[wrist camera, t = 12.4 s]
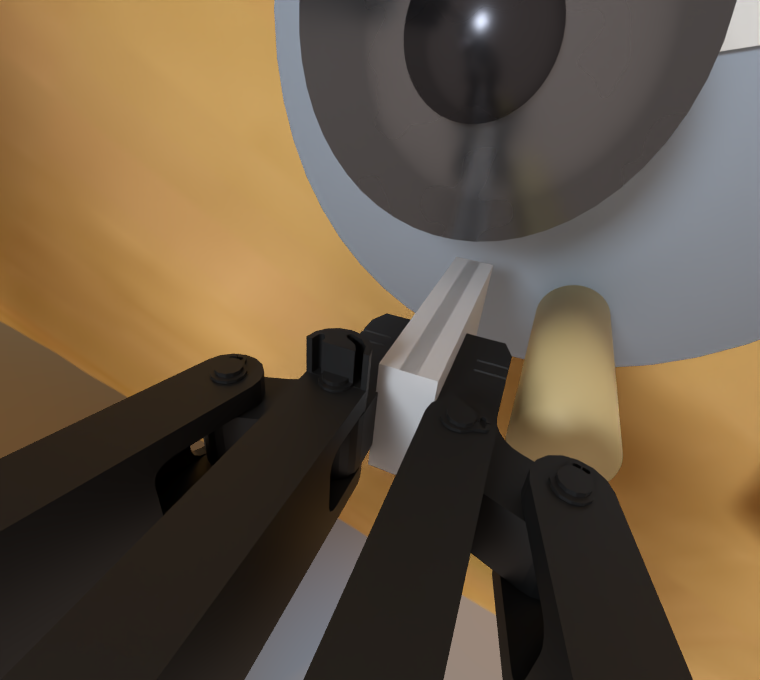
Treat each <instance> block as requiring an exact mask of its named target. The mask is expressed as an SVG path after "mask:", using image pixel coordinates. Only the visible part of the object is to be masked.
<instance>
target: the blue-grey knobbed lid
mask: <svg viewBox="0 0 760 680" xmlns="http://www.w3.org/2000/svg"><path fill="white" fill-rule="evenodd" d="M274 13H275V30H276V47H277V60H278V66H279V73H280V80H281V86H282V93H283V99H284V104H285V108H286V112H287V116H288V120H289V124H290V128H291V132H292V136H293V140H294V143H295V145H296V148H297V151H298V154H299V157H300V159H301V162H302V165H303V168H304V170H305V173H306V176H307V178H308V180H309V182H310V184H311V186H312V189H313V191H314V193H315V195H316V197H317V199H318V201H319V203H320V205H321V207H322V209H323V211H324V212H325V214H326V216H327V217H328V219H329V221H330V222H331V224H332V225H333V227H334V229H335V230H336V232H337V234H338V235H339V237H340V238H341V240H342V241H343V242H344V244H345V245H346V246H347V247H348V249H349V250H350V251H351V253H352V254H353V255H354V256H355V258H356V259H357V260H358V262H359V263H360V264H361V265H362V266H363V267H364V268H365V269H366V270H367V271H368V272H369V273H370V274H371V276H372V277H373V278H374V279H375V280H376V281H377V282H378V283H379V284H380V285H381V286H382V287H383V288H384V289H386V290H387V291H388V292H389V293H390V294H392V295H393V296H394V297H395V298H396V299H398V300H399V301H400V302H401V303H403V304H404V305H405V306H406V307H407V308H409V309H410V310H412V311H413V312H415V313H416V312H417V311H418V309H419V308H420V306H421V305H422V304H423V302H424V301H425V299H426V298H427V297H428V295H429V294H430V293H431V291H432V290H433V288H434V287H435V286H436V284H437V283H438V282H439V280H440V279H441V277H442V276H443V275H444V273H445V272H446V271H447V269H448V268H449V266H450V265H451V264H452V262H453V261H454V260H455V258H456V257H460V258H464V259H469V260H474V261H478V262H482V263H487V264H492V265H493V268H492V272H491V276H490V281H489V285H488V289H487V293H486V297H485V301H484V306H483V310H482V314H481V318H480V322H479V327H478V331H477V335H476V336H479V337H483V338H486V339H490V340H494V341H498V342H502V343H506V345H507V347H508V349H509V351H510V354H511V356H513V357H517V358H521V359H524V363H523V367H522V371H521V376H520V380H519V384H518V388H517V392H516V396H515V401H514V405H513V409H512V413H511V417H510V421H509V425H508V430H507V434H506V440H505V441H506V442H507V443H508V444H509V445H510V446H511V447H512V448H514V449H515V450H516V451H518V452H519V453H521V454H522V455H524V456H526V457H527V458H529V459H531V460H532V461H534V462H535V461H536V460H537V459H539V458H542V457H544V456H547V455H563V456H566V457H570V458H574V459H577V460H579V461H581V462H583V463H585V464H587V465H588V466H590V467H592V468H594V469H595V470H596V471H597V472H598V473H599V474H601V475H602V476H603V477H604V478H605V479H606V480H607V481H610V480H611V479H612V478H613V477H614V476H615V475H616V474H617V472H618V471H619V469H620V467H621V464H622V460H623V451H622V440H621V429H620V417H619V406H618V395H617V383H616V372H615V367H625V366H641V365H653V364H659V363H665V362H671V361H678V360H684V359H690V358H696V357H700V356H704V355H708V354H712V353H715V352H719V351H723V350H727V349H731V348H735V347H739V346H742V345H746V344H749V343H752V342H754V341H757V340H760V0H737V2H736V5H735V8H734V11H733V15H732V18H731V21H730V24H729V27H728V30H727V34H726V37H725V40H724V43H723V45H722V47H721V50H720V52H719V54H718V56H717V59H716V61H715V63H714V66H713V68H712V70H711V72H710V75H709V77H708V79H707V81H706V83H705V84H704V86H703V88H702V89H701V91H700V93H699V95H698V96H697V98H696V100H695V102H694V103H693V105H692V107H691V109H690V110H689V112H688V113H687V115H686V116H685V118H684V119H683V120H682V122H681V123H680V124H679V126H678V127H677V129H676V130H675V131H674V133H673V134H672V135H671V137H670V138H669V140H668V141H667V142H666V143H665V144H664V146H663V147H662V148H661V149H660V150H659V151H658V152H657V153H656V154H655V156H654V157H653V158H652V159H651V160H650V161H649V162H648V163H647V164H646V165H645V167H644V168H643V169H641V170H640V171H639V172H638V173H637V174H636V175H635V176H634V177H633V178H631V179H630V180H629V181H628V182H627V183H626V184H625V185H624V186H622V187H621V188H620V189H619V190H618V191H616V192H615V193H613V194H612V195H611V196H609V197H608V198H606V199H605V200H604V201H602V202H601V203H599V204H598V205H597V206H595V207H593V208H592V209H590V210H588V211H586V212H584V213H583V214H581V215H579V216H577V217H576V218H574V219H572V220H570V221H568V222H565V223H563V224H561V225H558V226H556V227H553V228H551V229H548V230H546V231H543V232H539V233H536V234H532V235H529V236H525V237H522V238H515V239H509V240H502V241H486V242H472V241H462V240H453V239H449V238H444V237H440V236H436V235H432V234H429V233H427V232H424V231H421V230H419V229H416V228H413V227H411V226H409V225H408V224H406V223H404V222H402V221H400V220H398V219H396V218H394V217H393V216H392V215H390V214H389V213H387V212H386V211H384V210H383V209H382V208H380V207H379V206H377V205H376V204H375V203H374V202H373V201H372V200H371V199H370V198H369V197H367V196H366V195H365V194H364V193H363V192H362V191H361V190H360V189H359V188H358V187H357V185H356V184H355V183H354V182H353V181H352V180H351V178H350V177H349V176H348V175H347V174H346V172H345V171H344V169H343V168H342V166H341V165H340V163H339V162H338V160H337V159H336V158H335V156H334V154H333V153H332V151H331V149H330V147H329V145H328V143H327V141H326V139H325V137H324V136H323V133H322V131H321V128H320V126H319V123H318V121H317V118H316V116H315V113H314V111H313V107H312V104H311V100H310V97H309V93H308V90H307V86H306V81H305V75H304V70H303V65H302V58H301V47H300V35H299V0H275V5H274Z"/></svg>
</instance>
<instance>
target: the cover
mask: <svg viewBox="0 0 760 680" xmlns="http://www.w3.org/2000/svg"><path fill="white" fill-rule="evenodd" d="M736 2H737V0H299V35H300V47H301V58H302V65H303V70H304V75H305V81H306V86H307V90H308V93H309V97H310V100H311V104H312V107H313V111H314V113H315V116H316V118H317V121H318V123H319V126H320V128H321V131H322V133H323V136H324V137H325V139H326V141H327V143H328V145H329V147H330V149H331V151H332V153H333V154H334V156H335V158H336V159H337V160H338V162H339V163H340V165H341V166H342V168H343V169H344V171H345V172H346V174H347V175H348V176H349V177H350V178H351V180H352V181H353V182H354V183H355V184H356V185H357V187H358V188H359V189H360V190H361V191H362V192H363V193H364V194H365V195H366V196H367V197H369V198H370V199H371V200H372V201H373V202H374V203H375V204H376V205H377V206H379V207H380V208H382V209H383V210H384V211H386V212H387V213H389V214H390V215H392V216H393V217H394V218H396V219H398V220H400V221H402V222H404V223H406V224H408V225H409V226H411V227H413V228H416V229H419V230H421V231H424V232H427V233H429V234H432V235H436V236H440V237H444V238H449V239H453V240H462V241H472V242H486V241H502V240H509V239H515V238H522V237H525V236H529V235H532V234H536V233H539V232H543V231H546V230H548V229H551V228H553V227H556V226H558V225H561V224H563V223H565V222H568V221H570V220H572V219H574V218H576V217H577V216H579V215H581V214H583V213H584V212H586V211H588V210H590V209H592V208H593V207H595V206H597V205H598V204H599V203H601V202H602V201H604V200H605V199H606V198H608V197H609V196H611V195H612V194H613V193H615V192H616V191H618V190H619V189H620V188H621V187H622V186H624V185H625V184H626V183H627V182H628V181H629V180H630V179H631V178H633V177H634V176H635V175H636V174H637V173H638V172H639V171H640V170H641V169H643V168H644V167H645V165H646V164H647V163H648V162H649V161H650V160H651V159H652V158H653V157H654V156H655V154H656V153H657V152H658V151H659V150H660V149H661V148H662V147H663V146H664V144H665V143H666V142H667V141H668V140H669V138H670V137H671V135H672V134H673V133H674V131H675V130H676V129H677V127H678V126H679V124H680V123H681V122H682V120H683V119H684V118H685V116H686V115H687V113H688V112H689V110H690V109H691V107H692V105H693V103H694V102H695V100H696V98H697V96H698V95H699V93H700V91H701V89H702V88H703V86H704V84H705V83H706V81H707V79H708V77H709V75H710V72H711V70H712V68H713V66H714V63H715V61H716V59H717V56H718V54H719V52H720V50H721V47H722V45H723V43H724V40H725V37H726V34H727V30H728V27H729V24H730V21H731V18H732V15H733V11H734V8H735V5H736Z"/></svg>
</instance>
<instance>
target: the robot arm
mask: <svg viewBox="0 0 760 680" xmlns="http://www.w3.org/2000/svg"><path fill="white" fill-rule="evenodd" d="M492 268H493V265H492V264H487V263H482V262H478V261H474V260H469V259H464V258H460V257H456V258H455V260H454V261H453V262H452V264H451V265H450V266H449V268H448V269H447V271H446V272H445V273H444V275H443V276H442V277H441V279H440V280H439V282H438V283H437V284H436V286H435V287H434V288H433V290H432V291H431V293H430V294H429V295H428V297H427V298H426V299H425V301H424V302H423V304H422V305H421V306H420V308H419V309H418V311H417V312H416V313H415V315H414V316H413V317H412V319H411V320H409V319H406V318H402V317H398V316H394V315H390V314H385V315H382V316H380V317H378V318H375V319H373V320H372V321H371V322H370V323H369V324H368V325H367V326H366V327H365V329H364V331H362V332H361V333H360V334H359V333H357V332H355V331H352V330H347V329H341V328H331V329H323V330H319V331H315V332H314V333H312V334H310V335H308V336H307V371H306V372H305V373H304V374H303V375H302V376H301V377H300V378H299V379H281V378H269V377H264V370H263V365H262V364H261V363H260V362H259V361H258V360H257V359H255V358H253V357H250V356H247V355H241V354H227V355H220V356H217V357H214V358H211V359H208V360H206V361H204V362H202V363H200V364H198V365H196V366H193V367H191V368H189V369H187V370H185V371H183V372H181V373H179V374H177V375H175V376H172V377H170V378H168V379H166V380H164V381H162V382H160V383H158V384H156V385H154V386H152V387H149V388H147V389H145V390H143V391H141V392H139V393H137V394H135V395H133V396H131V397H128V398H126V399H124V400H122V401H120V402H118V403H116V404H114V405H112V406H110V407H107V408H105V409H103V410H102V411H99V412H97V413H95V414H93V415H91V416H89V417H86V418H84V419H82V420H80V421H78V422H76V423H74V424H72V425H70V426H68V427H66V428H63V429H61V430H59V431H57V432H55V433H53V434H51V435H49V436H47V437H45V438H43V439H40V440H39V441H36V442H34V443H32V444H30V445H28V446H26V447H24V448H21V449H20V450H17V451H15V452H13V453H11V454H9V455H7V456H5V457H3V458H1V459H0V680H244V679H245V678H246V676H247V674H248V673H249V671H250V669H251V667H252V665H253V664H254V662H255V660H256V659H257V657H258V655H259V653H260V652H261V650H262V648H263V646H264V645H265V643H266V641H267V640H268V638H269V636H270V634H271V633H272V631H273V629H274V627H275V626H276V624H277V622H278V620H279V618H280V617H281V615H282V614H283V612H284V610H285V608H286V607H287V605H288V603H289V602H290V600H291V598H292V596H293V595H294V593H295V591H296V589H297V588H298V586H299V584H300V582H301V581H302V579H303V577H304V576H305V574H306V572H307V570H308V569H309V567H310V565H311V563H312V562H313V560H314V558H315V556H316V555H317V553H318V551H319V550H320V548H321V546H322V544H323V543H324V541H325V539H326V537H327V536H328V534H329V532H330V531H331V529H332V527H333V525H334V524H335V522H336V520H337V518H338V517H339V515H340V513H341V511H342V510H343V508H344V506H345V505H346V503H347V501H348V499H349V498H350V496H351V494H352V492H353V491H354V489H355V487H356V486H357V484H358V481H359V478H360V474H361V463H362V461H363V460H364V458H365V456H366V454H367V453H368V451H369V449H370V453H369V462H368V464H369V465H371V466H374V467H377V468H379V469H382V470H385V471H387V472H389V473H392V474H395V475H396V476H395V478H394V480H393V483H392V485H391V487H390V489H389V491H388V494H387V496H386V498H385V500H384V503H383V505H382V507H381V509H380V511H379V514H378V516H377V518H376V520H375V522H374V525H373V527H372V529H371V531H370V534H369V536H368V538H367V540H366V543H365V545H364V547H363V549H362V551H361V553H360V556H359V558H358V560H357V562H356V565H355V567H354V569H353V572H352V574H351V576H350V578H349V580H348V582H347V585H346V587H345V589H344V591H343V593H342V596H341V598H340V600H339V602H338V604H337V607H336V609H335V611H334V613H333V616H332V618H331V620H330V622H329V624H328V627H327V629H326V631H325V634H324V636H323V638H322V640H321V642H320V644H319V646H318V649H317V651H316V653H315V655H314V657H313V660H312V662H311V664H310V666H309V669H308V671H307V673H306V675H305V678H304V680H443V679H444V674H445V670H446V665H447V660H448V655H449V651H450V646H451V641H452V637H453V632H454V628H455V623H456V618H457V614H458V609H459V604H460V600H461V595H462V590H463V586H464V581H465V576H466V572H467V567H468V562H469V558H470V553H472V554H473V555H474V556H476V557H477V558H478V559H479V560H481V561H482V562H483V563H485V564H486V565H487V566H488V567H490V568H491V569H492V570H493V571H492V579H493V589H494V598H495V608H496V618H497V627H498V638H499V648H500V657H501V666H502V677H503V680H693V679H692V676H691V674H690V672H689V669H688V667H687V664H686V662H685V660H684V657H683V655H682V652H681V650H680V648H679V645H678V643H677V640H676V638H675V636H674V633H673V631H672V628H671V626H670V624H669V621H668V619H667V616H666V614H665V612H664V609H663V607H662V604H661V602H660V600H659V597H658V595H657V592H656V590H655V588H654V585H653V583H652V581H651V578H650V576H649V573H648V571H647V569H646V566H645V564H644V561H643V559H642V557H641V554H640V552H639V549H638V547H637V545H636V542H635V540H634V537H633V535H632V533H631V530H630V528H629V525H628V523H627V521H626V518H625V516H624V513H623V511H622V509H621V506H620V504H619V501H618V499H617V497H616V494H615V492H614V491H613V489H612V488H611V486H610V484H609V483H608V481H607V480H606V479H605V478H604V477H603V476H602V475H601V474H599V473H598V472H597V471H596V470H595V469H594V468H592V467H590V466H588V465H587V464H585V463H583V462H581V461H579V460H577V459H574V458H570V457H566V456H563V455H547V456H544V457H542V458H539V459H537V460H536V461H535V462H534V461H532V460H531V459H529V458H527V457H526V456H524V455H522V454H521V453H519V452H518V451H516V450H515V449H514V448H512V447H511V446H510V445H509V444H508V443H507V442H506V441H505V440H504V438H503V437H502V435H501V434H500V432H499V430H498V427H497V416H498V411H499V407H500V403H501V399H502V395H503V391H504V386H505V382H506V378H507V374H508V369H509V365H510V361H511V357H512V356H511V354H510V351H509V349H508V347H507V345H506V343H502V342H498V341H494V340H490V339H486V338H483V337H479V336H476V335H477V331H478V327H479V322H480V318H481V314H482V310H483V306H484V301H485V297H486V293H487V289H488V285H489V281H490V276H491V272H492ZM202 438H203V439H204V445H205V446H204V447H202V448H200V449H197V450H195V451H191V448H190V446H191V445H192V444H194V443H195V442H197V441H199V440H200V439H202Z"/></svg>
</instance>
